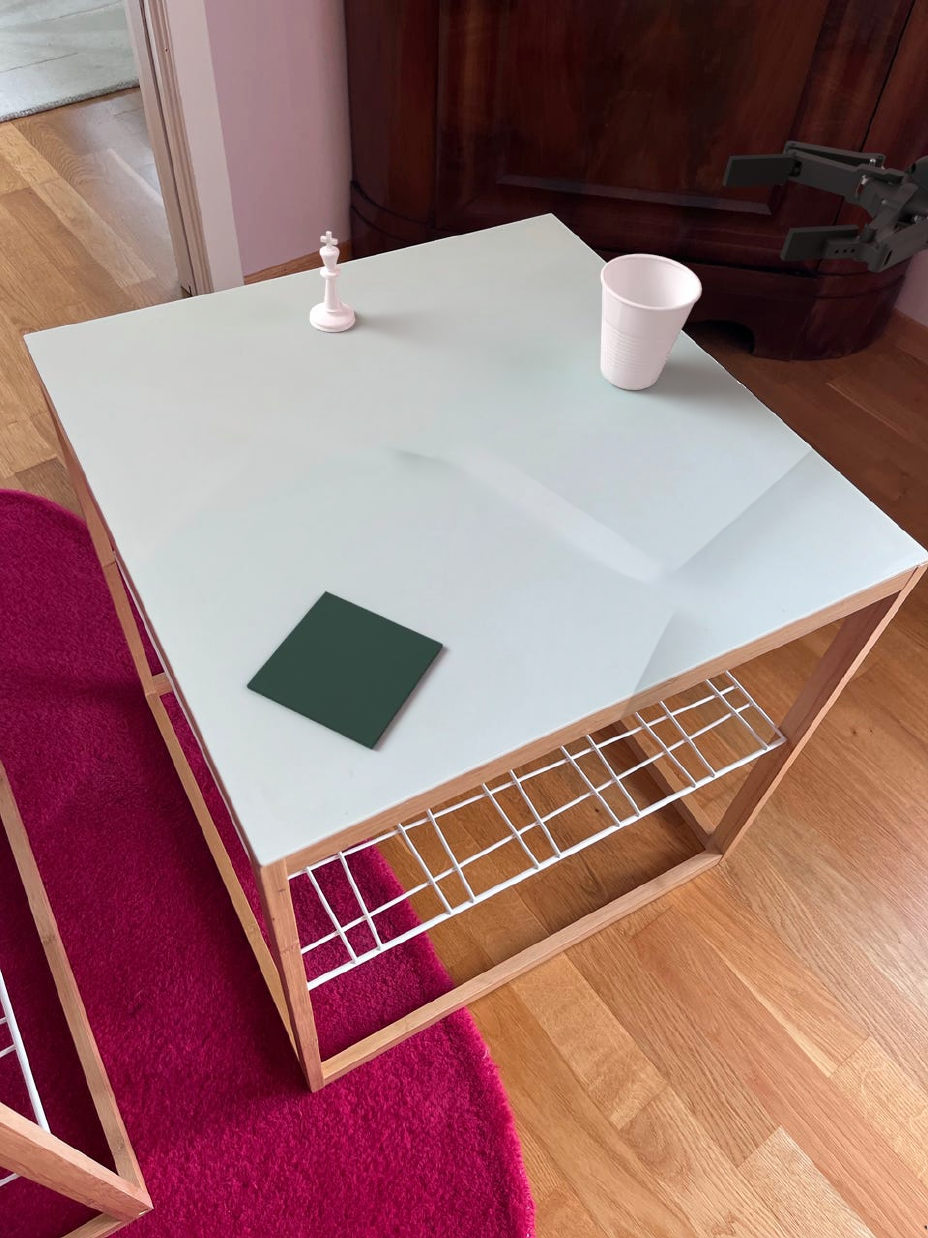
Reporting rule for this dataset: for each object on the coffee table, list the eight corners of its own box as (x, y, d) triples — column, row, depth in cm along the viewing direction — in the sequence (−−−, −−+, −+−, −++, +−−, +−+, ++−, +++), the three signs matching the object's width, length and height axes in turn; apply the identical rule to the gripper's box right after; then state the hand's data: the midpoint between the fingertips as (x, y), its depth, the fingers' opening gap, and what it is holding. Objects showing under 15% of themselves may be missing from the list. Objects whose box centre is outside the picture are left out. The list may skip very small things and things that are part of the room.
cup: (693, 376, 101) (721, 283, 93) (638, 416, 96) (663, 321, 88) (619, 335, 105) (640, 242, 97) (563, 371, 100) (580, 276, 92)
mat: (442, 646, 76) (443, 643, 75) (371, 749, 69) (371, 747, 69) (325, 593, 78) (325, 590, 78) (246, 688, 72) (246, 685, 72)
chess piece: (320, 302, 105) (315, 215, 97) (361, 312, 104) (360, 225, 97) (302, 326, 102) (296, 238, 94) (345, 336, 101) (342, 249, 94)
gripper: (1007, 302, 88) (799, 318, 84) (877, 173, 103) (696, 181, 99) (1051, 225, 82) (830, 238, 78) (907, 100, 97) (715, 105, 93)
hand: (755, 206), depth 88 cm, fingers open, 13 cm apart
